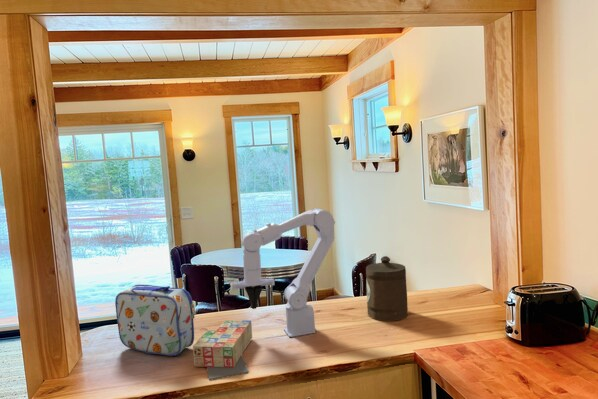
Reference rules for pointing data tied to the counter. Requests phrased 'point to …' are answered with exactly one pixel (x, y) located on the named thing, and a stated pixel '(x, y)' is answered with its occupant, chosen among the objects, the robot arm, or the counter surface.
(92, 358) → the counter surface
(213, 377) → the mat
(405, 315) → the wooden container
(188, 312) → the lunch box
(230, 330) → the stack of blocks
